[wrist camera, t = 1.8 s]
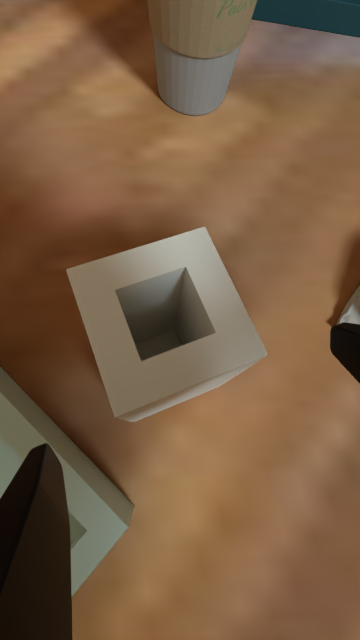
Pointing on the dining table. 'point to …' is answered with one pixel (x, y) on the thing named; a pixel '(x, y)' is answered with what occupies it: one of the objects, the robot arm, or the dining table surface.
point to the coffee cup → (197, 49)
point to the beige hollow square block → (164, 323)
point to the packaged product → (351, 309)
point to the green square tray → (79, 477)
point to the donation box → (312, 14)
